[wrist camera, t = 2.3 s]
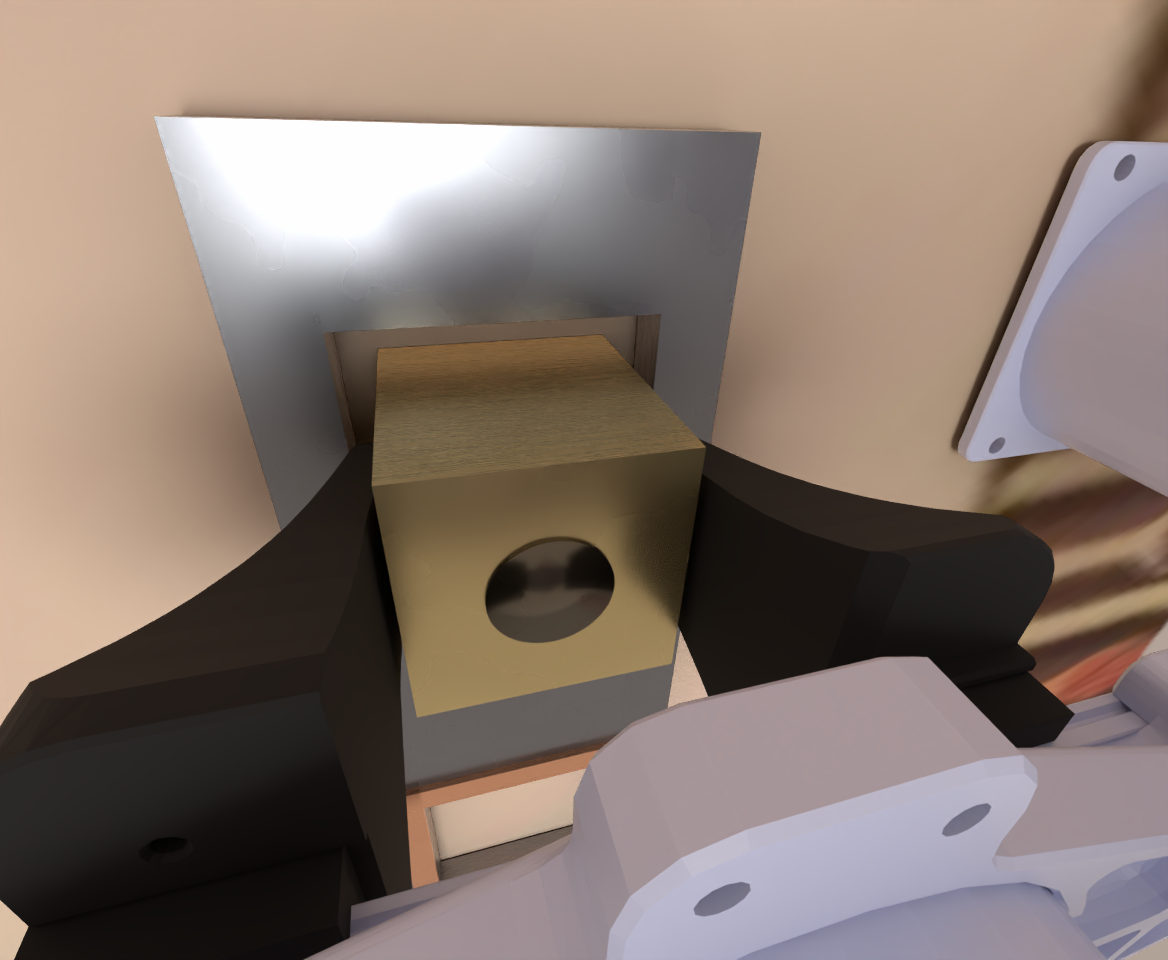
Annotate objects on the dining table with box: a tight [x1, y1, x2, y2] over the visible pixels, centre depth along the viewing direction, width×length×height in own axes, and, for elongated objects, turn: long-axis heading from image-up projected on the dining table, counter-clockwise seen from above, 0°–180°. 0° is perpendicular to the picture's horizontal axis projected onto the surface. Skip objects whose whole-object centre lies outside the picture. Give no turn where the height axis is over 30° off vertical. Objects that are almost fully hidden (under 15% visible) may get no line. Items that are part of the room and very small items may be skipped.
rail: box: [154, 115, 761, 889], centre depth 16 cm, size 9×26×1 cm, turn 178°
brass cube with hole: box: [372, 335, 706, 717], centre depth 11 cm, size 4×4×5 cm
